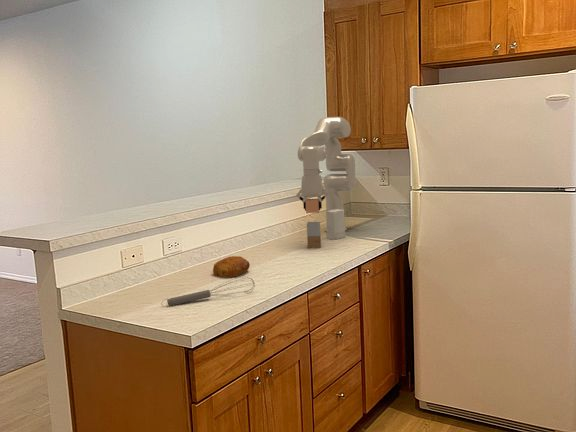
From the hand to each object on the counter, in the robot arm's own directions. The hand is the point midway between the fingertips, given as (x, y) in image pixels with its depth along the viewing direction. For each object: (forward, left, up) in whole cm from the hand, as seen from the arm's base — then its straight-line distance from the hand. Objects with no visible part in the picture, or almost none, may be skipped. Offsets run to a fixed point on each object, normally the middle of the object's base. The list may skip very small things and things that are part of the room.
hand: (312, 209), depth 278 cm
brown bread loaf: (+48, -31, -19) cm, 60 cm away
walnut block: (0, 0, -18) cm, 18 cm away
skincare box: (-21, +10, -19) cm, 30 cm away
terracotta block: (0, 0, -1) cm, 1 cm away
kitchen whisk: (+84, -30, -19) cm, 91 cm away
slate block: (0, 0, -12) cm, 12 cm away
